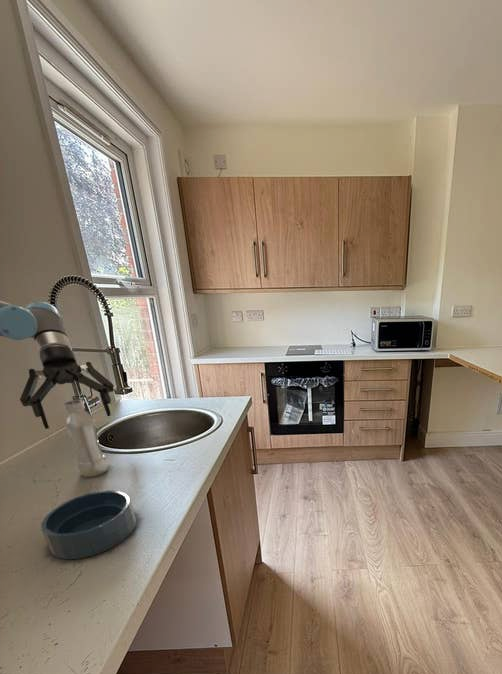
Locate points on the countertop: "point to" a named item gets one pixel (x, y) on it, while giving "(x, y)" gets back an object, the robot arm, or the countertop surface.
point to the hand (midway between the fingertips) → (78, 419)
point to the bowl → (89, 524)
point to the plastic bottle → (85, 439)
